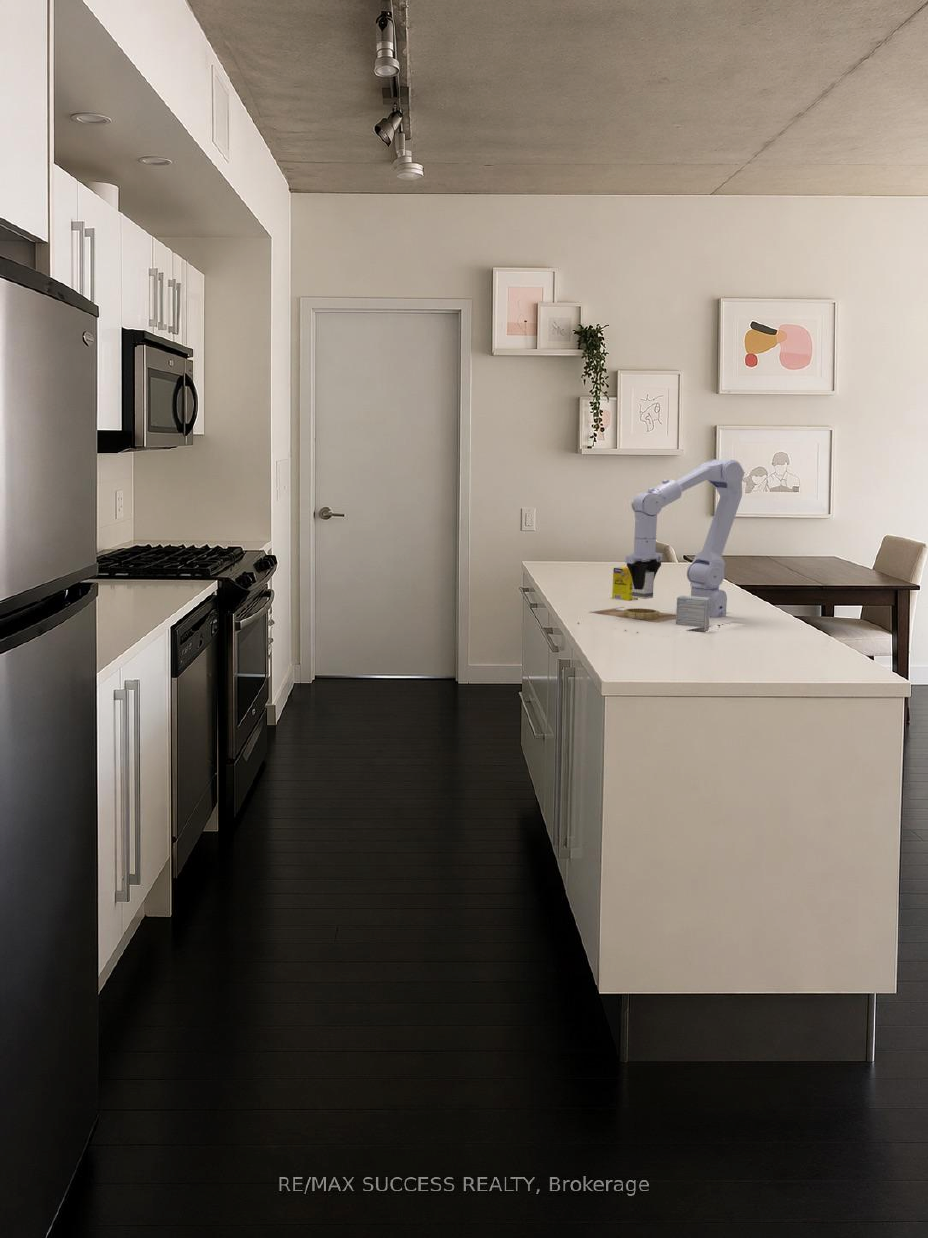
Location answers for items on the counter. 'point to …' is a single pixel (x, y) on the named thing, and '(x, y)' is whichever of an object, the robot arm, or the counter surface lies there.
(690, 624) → the medicine box
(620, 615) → the walnut board
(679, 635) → the counter surface
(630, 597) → the supplement box
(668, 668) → the counter surface
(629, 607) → the grey pad
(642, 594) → the steel post
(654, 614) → the brass eye
